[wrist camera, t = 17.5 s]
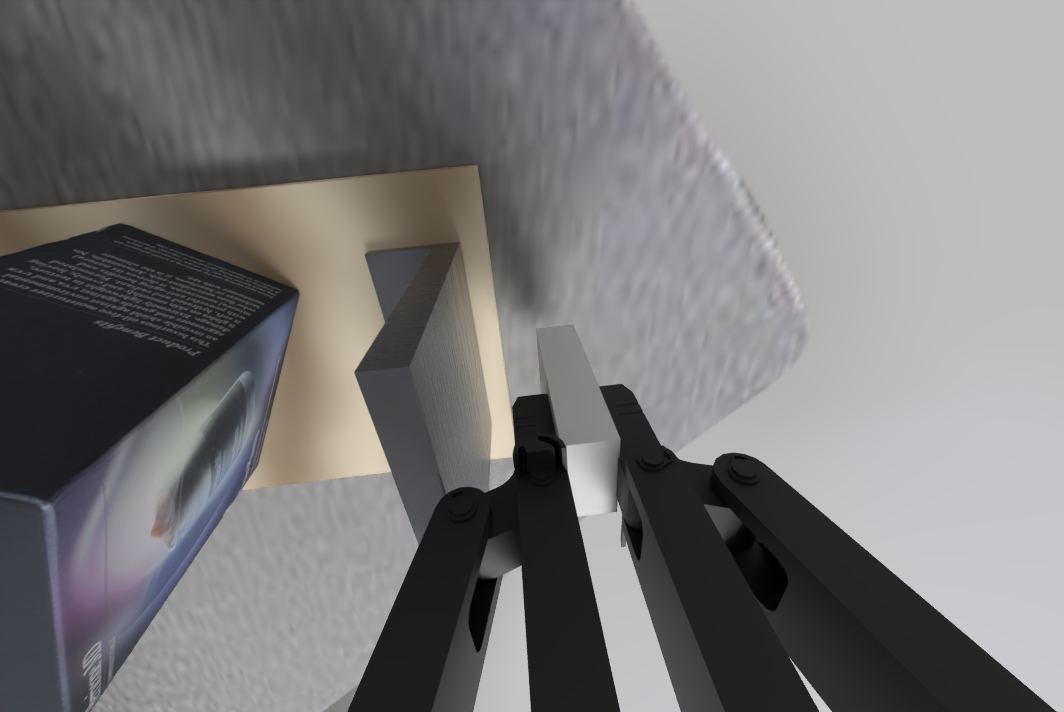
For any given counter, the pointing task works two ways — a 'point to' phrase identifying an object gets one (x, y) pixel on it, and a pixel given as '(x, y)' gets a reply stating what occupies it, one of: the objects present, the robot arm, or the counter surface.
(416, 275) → the bookend
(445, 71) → the counter surface
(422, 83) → the counter surface
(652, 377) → the counter surface
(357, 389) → the shelf board
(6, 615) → the small box
